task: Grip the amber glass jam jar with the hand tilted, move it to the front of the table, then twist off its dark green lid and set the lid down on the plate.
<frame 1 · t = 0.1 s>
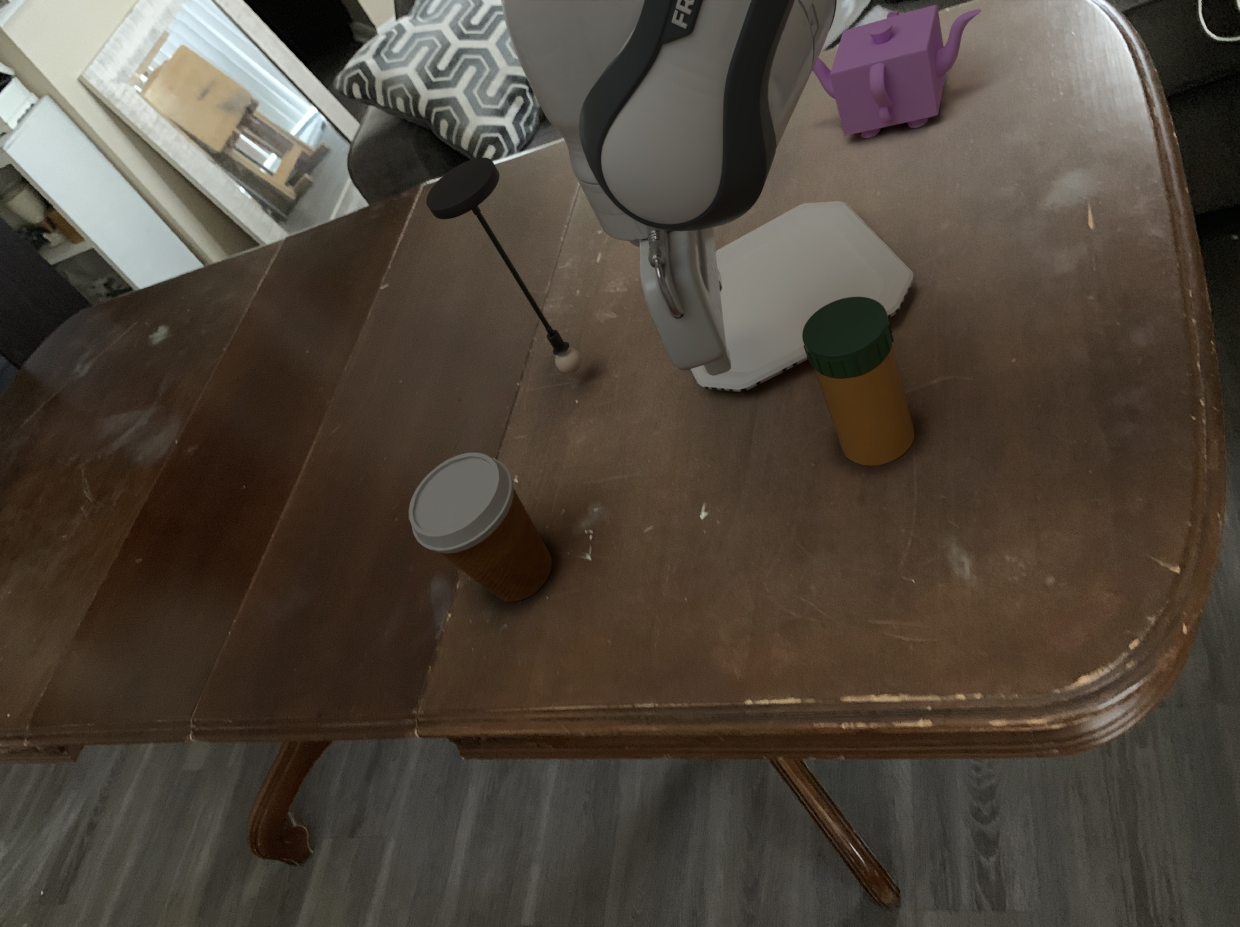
hand: (716, 326, 70), 12 cm above the table, tool pointing down, fingers open, 8 cm apart
teapot: (898, 111, 96), on the table
plate: (780, 307, 86), on the table
jar: (877, 438, 72), on the table
light fixture: (582, 384, 93), on the table
disposable coffee cup: (522, 573, 81), on the table
lid: (844, 329, 64), point 12 cm above the table, screwed on, not yet turned
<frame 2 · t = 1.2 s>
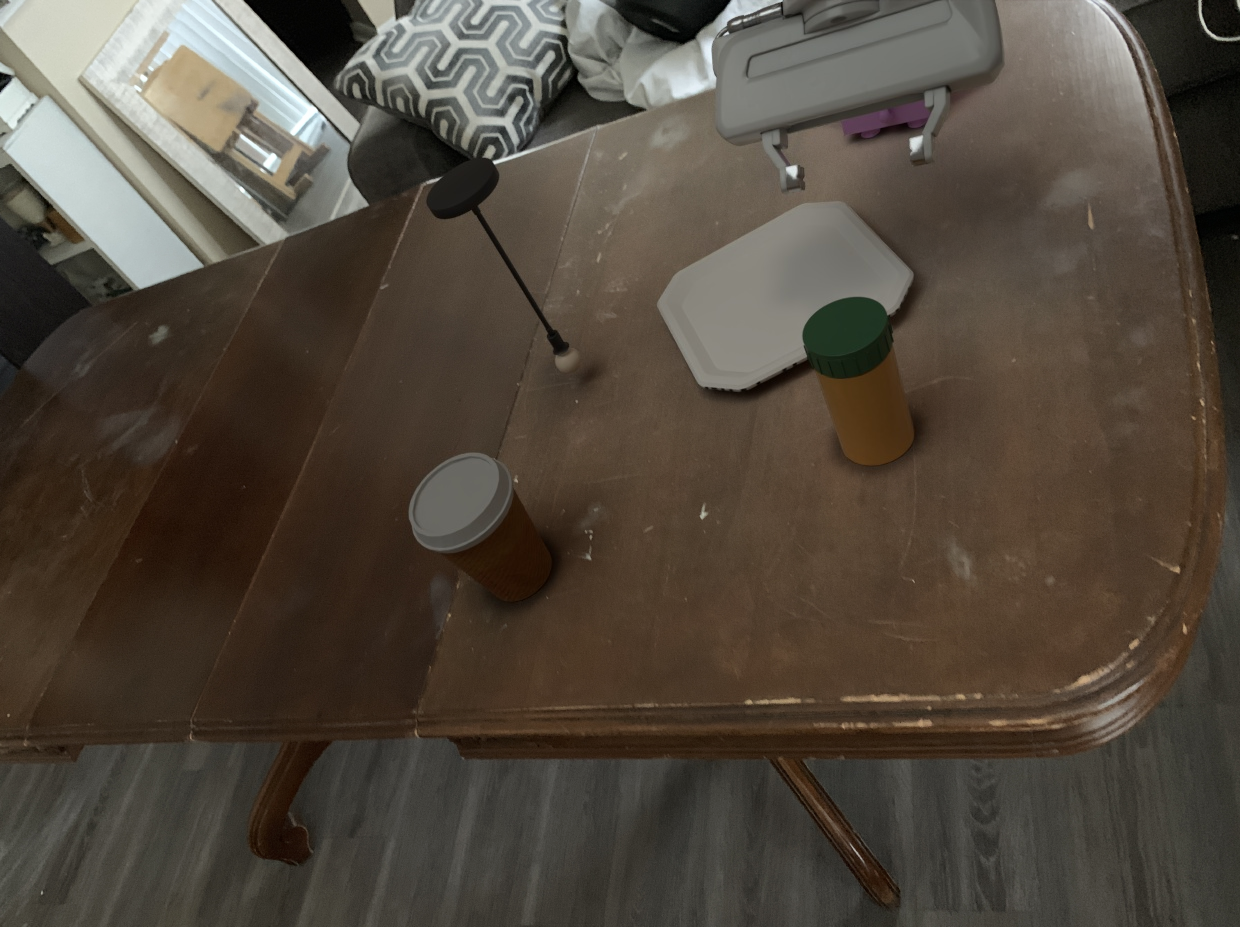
hand: (855, 178, 67), 16 cm above the table, tool tilted 45°, fingers open, 8 cm apart
nothing on the table moved.
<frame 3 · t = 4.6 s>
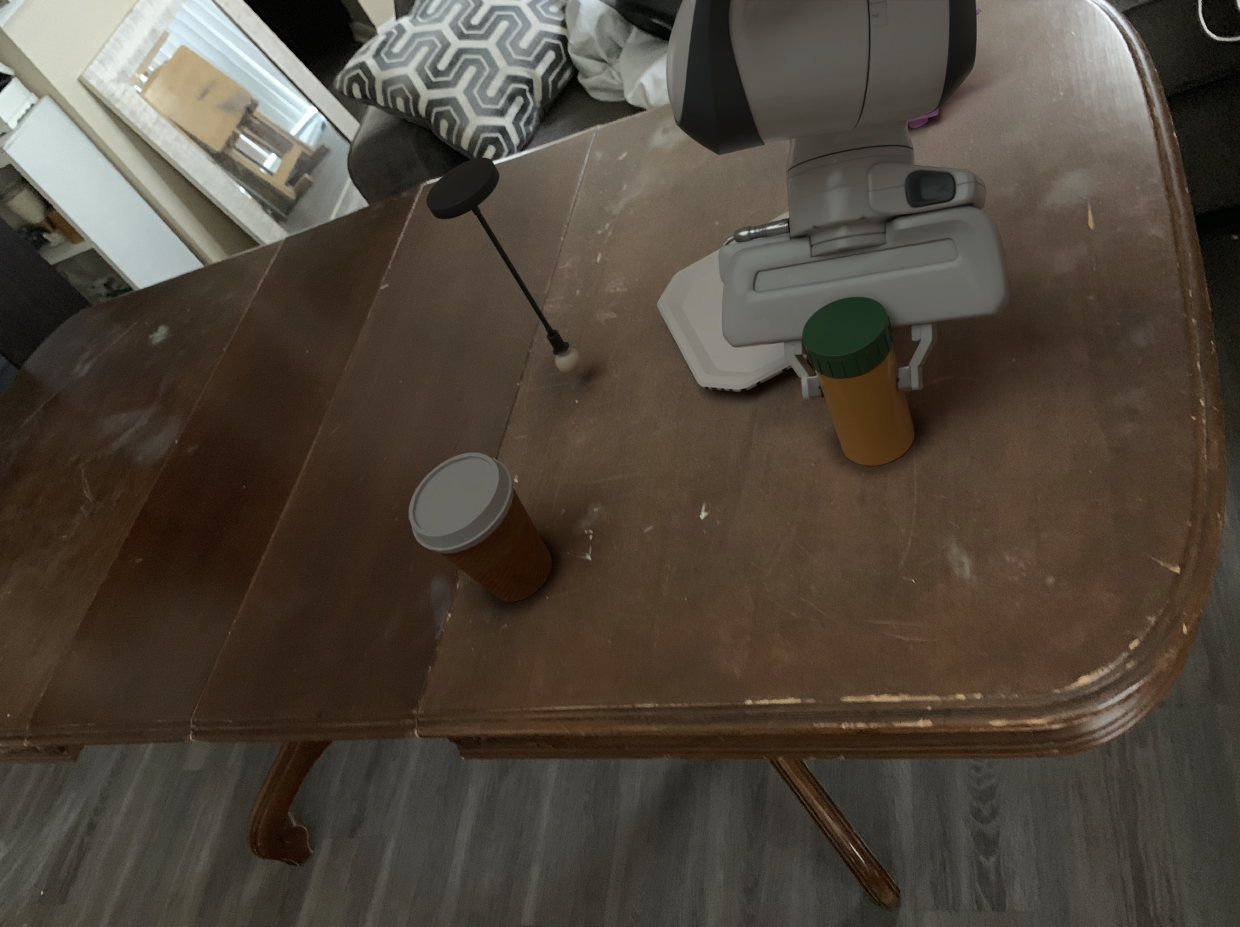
hand: (862, 395, 67), 6 cm above the table, tool tilted 45°, fingers closed on jar, 5 cm apart
jar: (877, 438, 72), on the table, touching gripper
everything else where it was.
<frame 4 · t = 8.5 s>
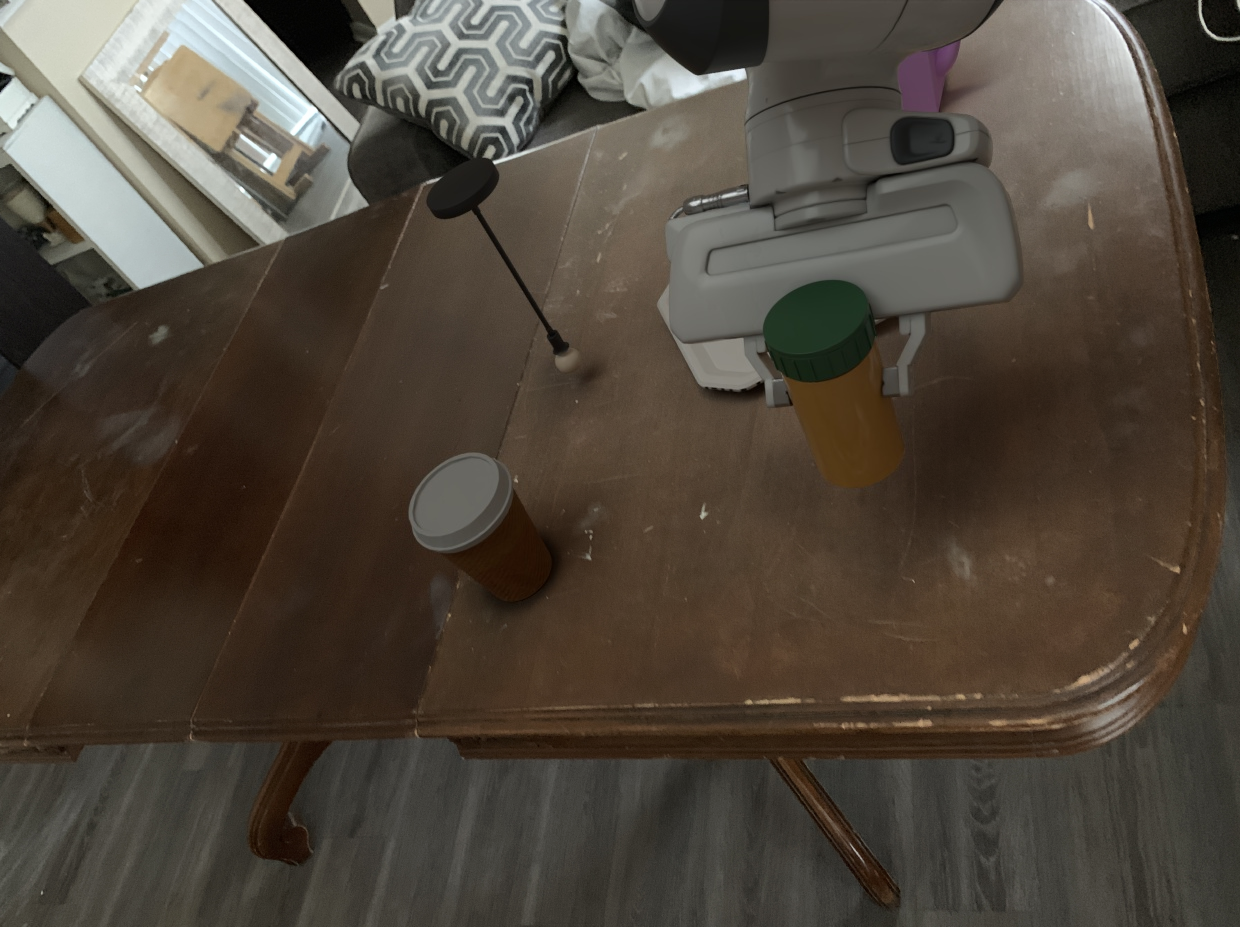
hand: (839, 402, 55), 16 cm above the table, tool tilted 45°, fingers closed on jar, 5 cm apart
jar: (859, 454, 59), point 10 cm above the table, touching gripper
lid: (815, 321, 51), point 22 cm above the table, screwed on, not yet turned
everything else where it was.
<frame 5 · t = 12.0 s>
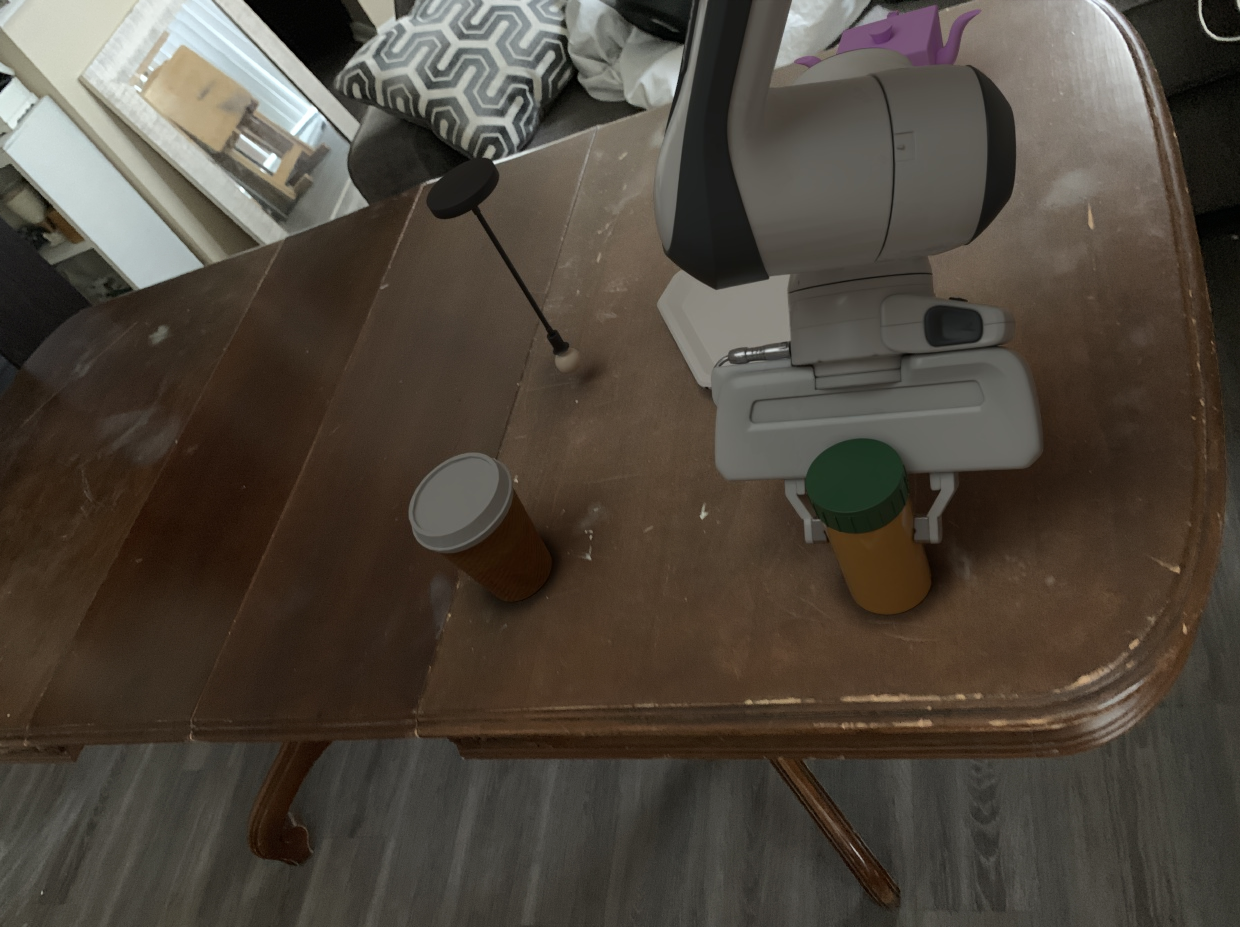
hand: (872, 542, 60), 6 cm above the table, tool tilted 45°, fingers closed on jar, 5 cm apart
jar: (889, 581, 64), on the table, touching gripper
lid: (854, 478, 56), point 12 cm above the table, screwed on, not yet turned
everything else where it was.
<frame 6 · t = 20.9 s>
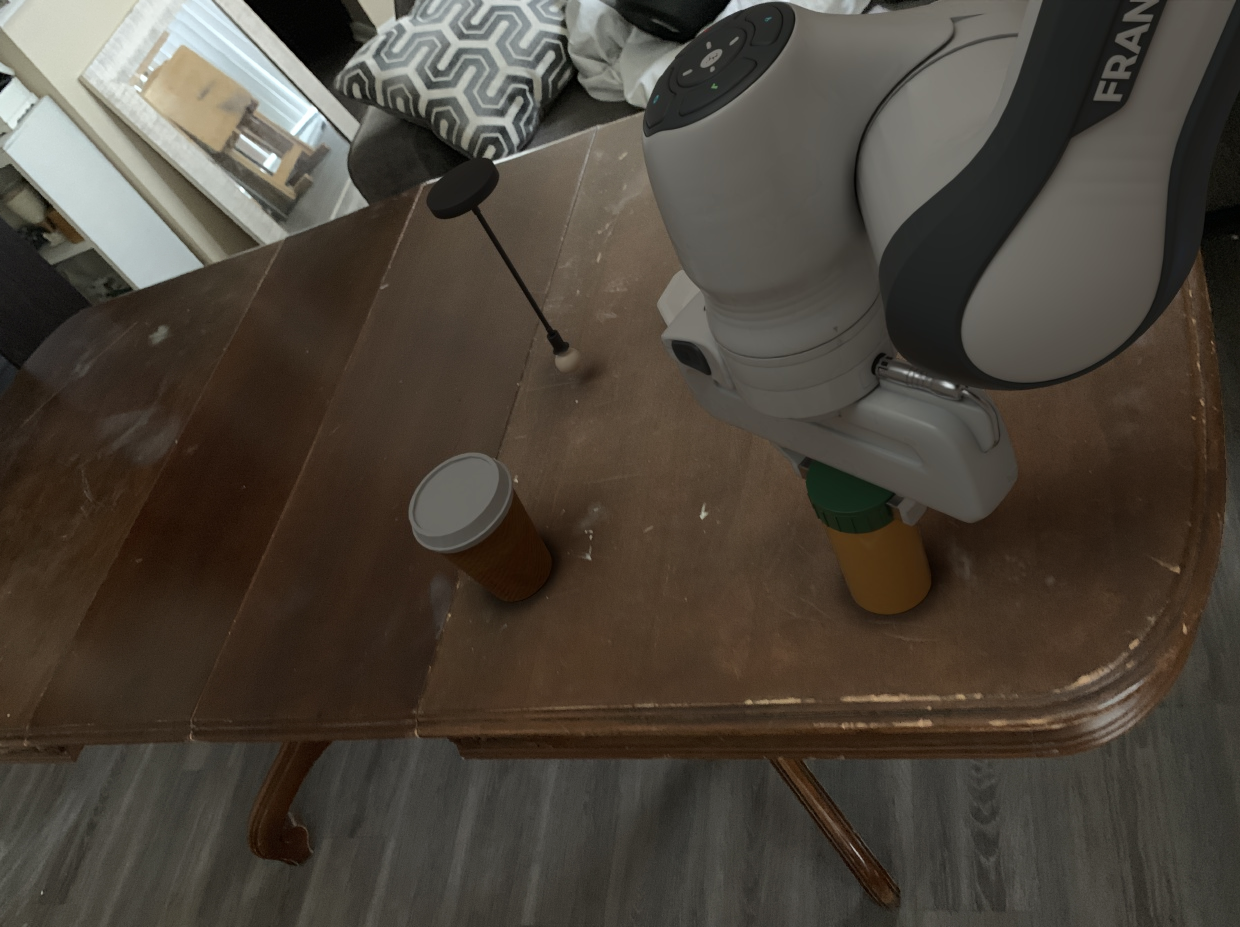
hand: (859, 492, 57), 11 cm above the table, tool pointing down, fingers closed on lid, 6 cm apart
jar: (889, 580, 64), on the table
lid: (854, 478, 56), point 12 cm above the table, screwed on, not yet turned, touching gripper
everything else where it was.
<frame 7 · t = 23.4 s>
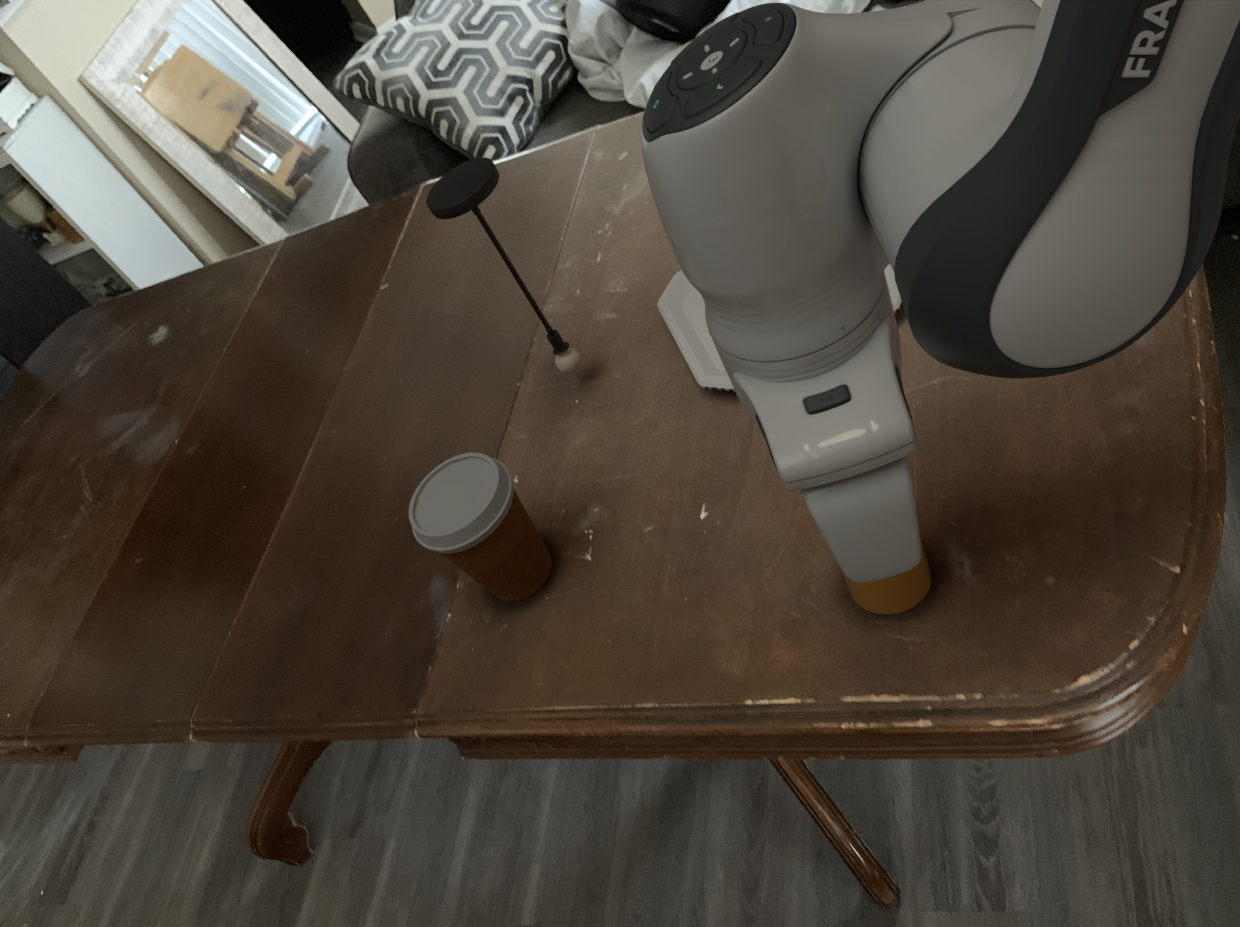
hand: (859, 496, 57), 11 cm above the table, tool pointing down, fingers closed on lid, 6 cm apart
lid: (854, 480, 55), point 12 cm above the table, off its thread, touching gripper
everything else where it was.
when the fingers open (2 cm above the table, at t = 31.7 s): lid stays where it is, resting on plate.
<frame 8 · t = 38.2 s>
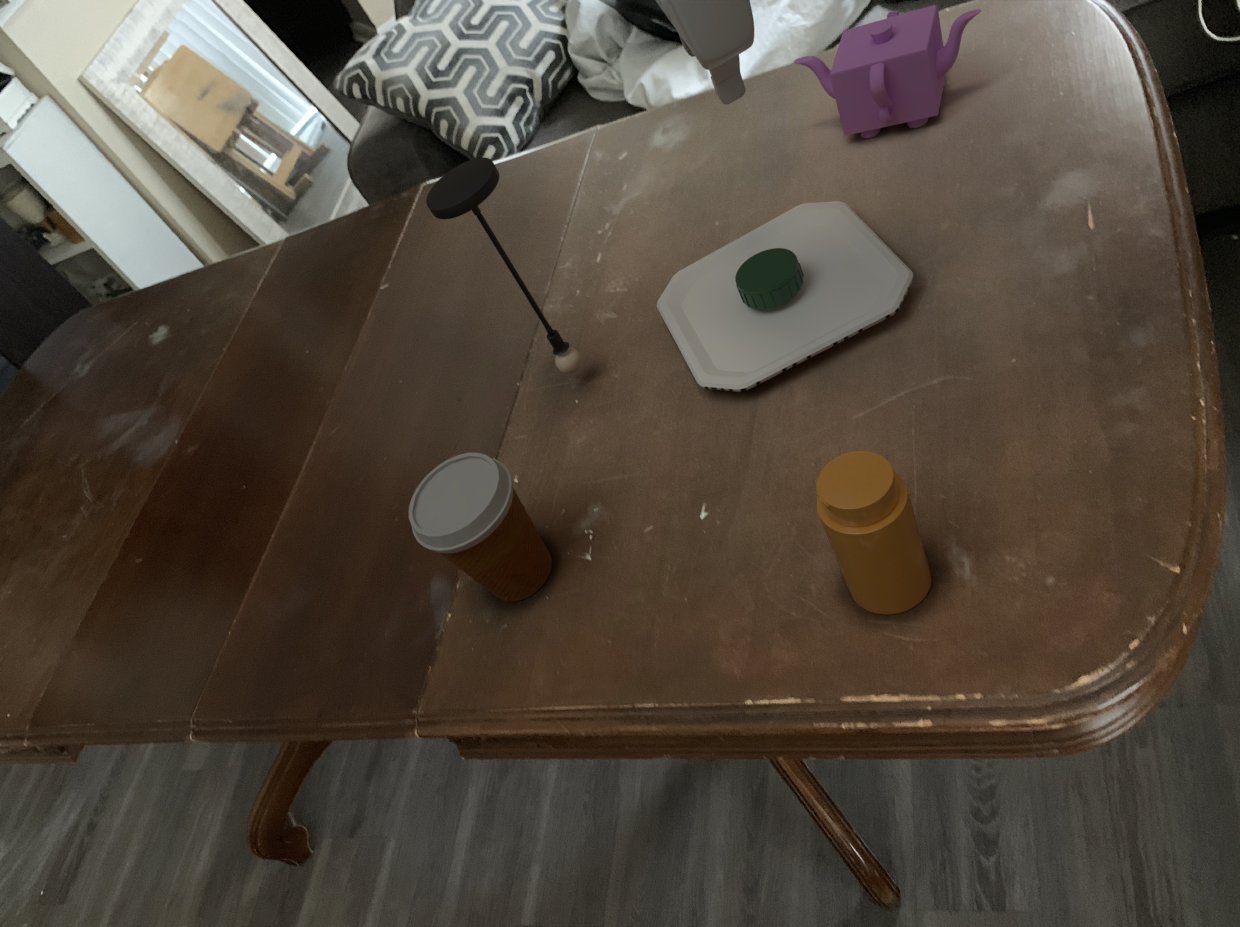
hand: (714, 72, 67), 25 cm above the table, tool pointing down, fingers open, 8 cm apart
plate: (780, 307, 86), on the table, touching lid
lid: (766, 272, 84), point 4 cm above the table, off its thread, touching plate
everything else where it was.
at the end: lid came off its thread; lid inside the target area on the plate (0.1 cm from its centre), point 4.3 cm above the plate's base; jar tilted 0° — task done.
